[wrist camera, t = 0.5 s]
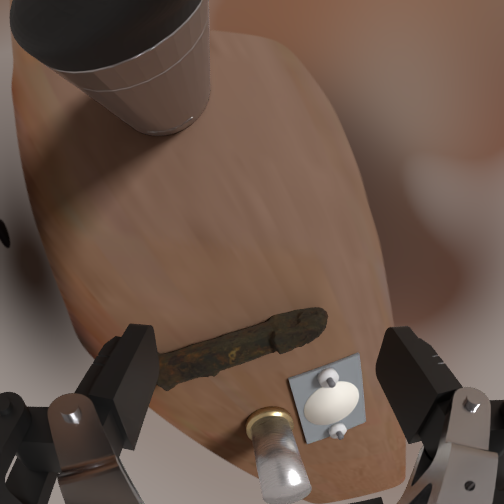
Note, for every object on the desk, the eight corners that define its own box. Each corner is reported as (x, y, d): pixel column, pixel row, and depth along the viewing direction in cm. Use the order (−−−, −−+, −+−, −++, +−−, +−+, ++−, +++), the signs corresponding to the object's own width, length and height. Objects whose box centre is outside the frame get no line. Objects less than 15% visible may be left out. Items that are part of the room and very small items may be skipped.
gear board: (288, 378, 33) (293, 390, 31) (358, 352, 34) (366, 362, 31) (306, 442, 36) (311, 454, 34) (364, 420, 37) (371, 430, 34)
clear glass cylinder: (239, 414, 34) (250, 488, 22) (286, 400, 34) (311, 472, 22) (252, 442, 35) (265, 511, 23) (295, 430, 35) (319, 496, 24)
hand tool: (166, 376, 32) (161, 401, 27) (151, 348, 31) (144, 371, 26) (324, 327, 33) (340, 346, 28) (317, 296, 32) (333, 313, 27)
